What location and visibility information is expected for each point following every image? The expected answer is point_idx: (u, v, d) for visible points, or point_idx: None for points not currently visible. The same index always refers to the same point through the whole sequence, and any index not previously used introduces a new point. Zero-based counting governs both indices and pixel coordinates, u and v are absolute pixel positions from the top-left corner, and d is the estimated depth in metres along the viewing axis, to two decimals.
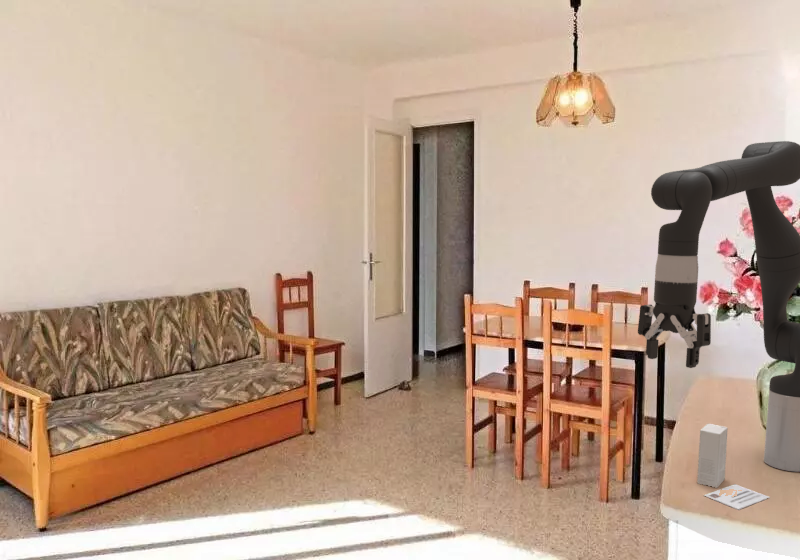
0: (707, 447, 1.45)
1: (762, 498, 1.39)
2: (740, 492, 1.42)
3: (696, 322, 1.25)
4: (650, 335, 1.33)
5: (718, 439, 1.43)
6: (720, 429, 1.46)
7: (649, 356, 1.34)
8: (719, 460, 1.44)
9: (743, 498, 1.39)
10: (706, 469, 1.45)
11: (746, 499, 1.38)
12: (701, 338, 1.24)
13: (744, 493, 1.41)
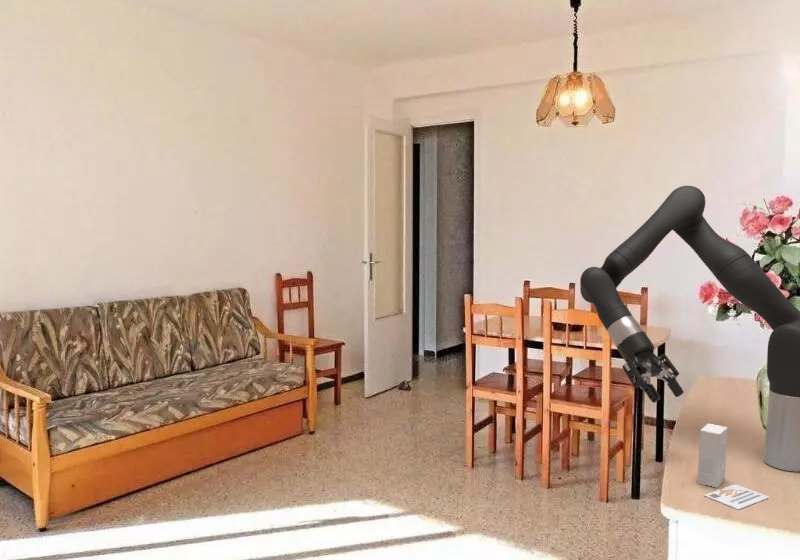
0: (707, 447, 1.45)
1: (762, 498, 1.39)
2: (740, 492, 1.42)
3: (665, 359, 1.62)
4: (649, 379, 1.55)
5: (718, 439, 1.43)
6: (720, 429, 1.46)
7: (659, 396, 1.53)
8: (719, 460, 1.44)
9: (743, 498, 1.39)
10: (706, 469, 1.45)
11: (746, 499, 1.38)
12: (675, 369, 1.61)
13: (744, 493, 1.41)
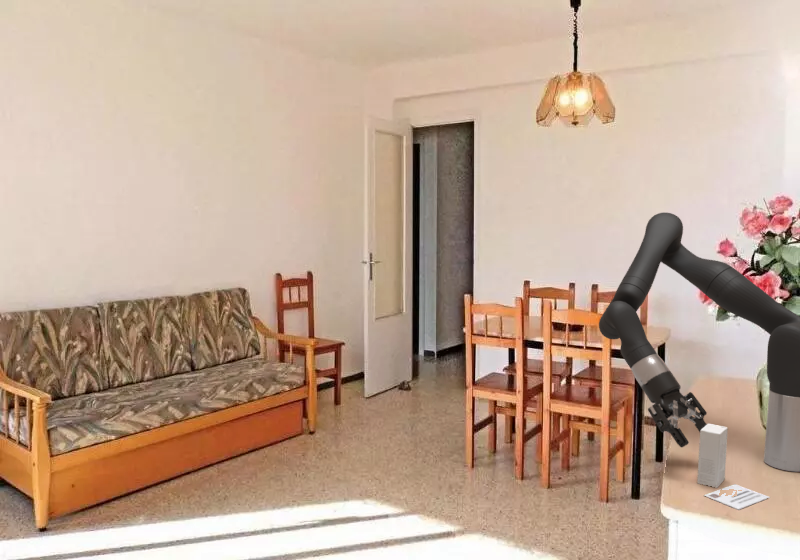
0: (707, 447, 1.45)
1: (762, 498, 1.39)
2: (740, 492, 1.42)
3: (692, 398, 1.57)
4: (676, 423, 1.50)
5: (718, 439, 1.43)
6: (720, 429, 1.46)
7: (687, 441, 1.48)
8: (719, 460, 1.44)
9: (743, 498, 1.39)
10: (706, 469, 1.45)
11: (746, 499, 1.38)
12: (702, 408, 1.56)
13: (744, 493, 1.41)
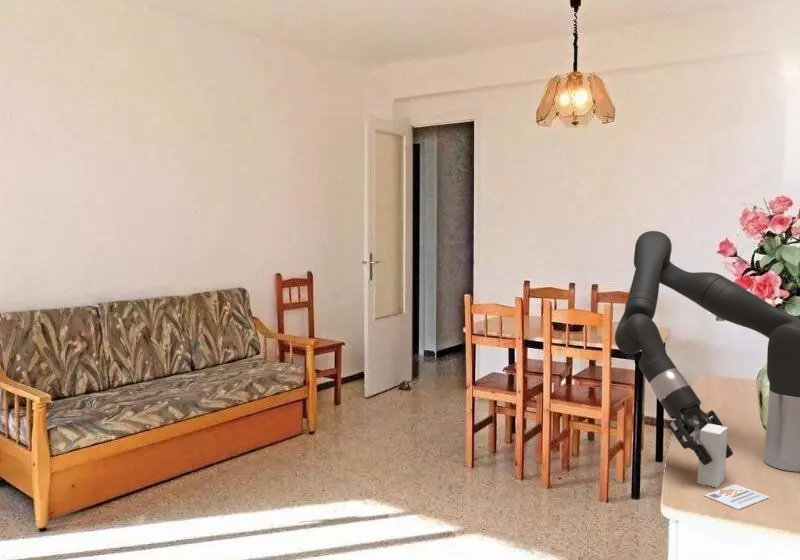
0: (707, 446, 1.45)
1: (762, 498, 1.39)
2: (740, 492, 1.42)
3: (713, 416, 1.52)
4: (699, 440, 1.45)
5: (718, 439, 1.43)
6: (721, 429, 1.46)
7: (711, 458, 1.43)
8: (719, 460, 1.44)
9: (743, 498, 1.39)
10: (706, 469, 1.45)
11: (746, 499, 1.38)
12: None
13: (744, 493, 1.41)
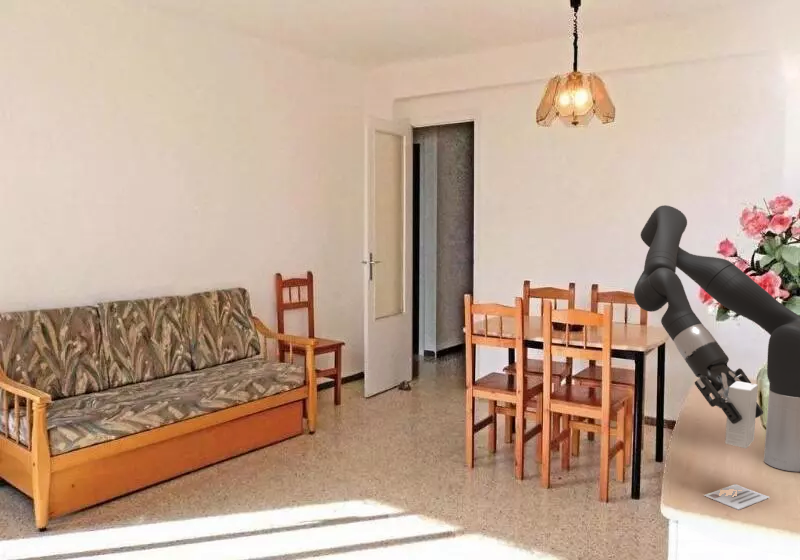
0: (736, 404, 1.36)
1: (762, 498, 1.39)
2: (740, 492, 1.42)
3: (741, 374, 1.44)
4: None
5: (748, 396, 1.34)
6: (750, 386, 1.37)
7: (740, 416, 1.35)
8: (749, 418, 1.35)
9: (743, 498, 1.39)
10: (735, 428, 1.37)
11: (746, 499, 1.38)
12: None
13: (744, 493, 1.41)
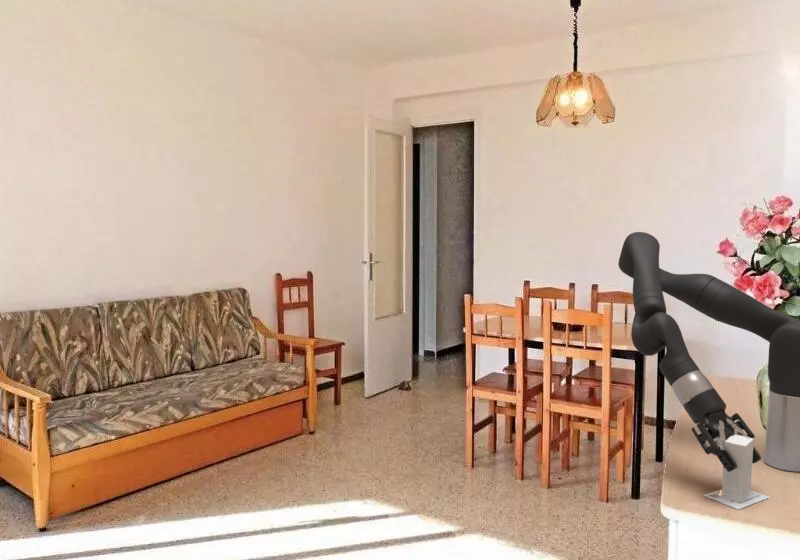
0: None
1: (762, 498, 1.39)
2: None
3: (738, 420, 1.45)
4: (723, 445, 1.38)
5: (744, 451, 1.35)
6: (746, 441, 1.38)
7: (735, 464, 1.35)
8: (745, 473, 1.36)
9: None
10: (731, 482, 1.38)
11: (746, 499, 1.38)
12: (749, 430, 1.44)
13: None
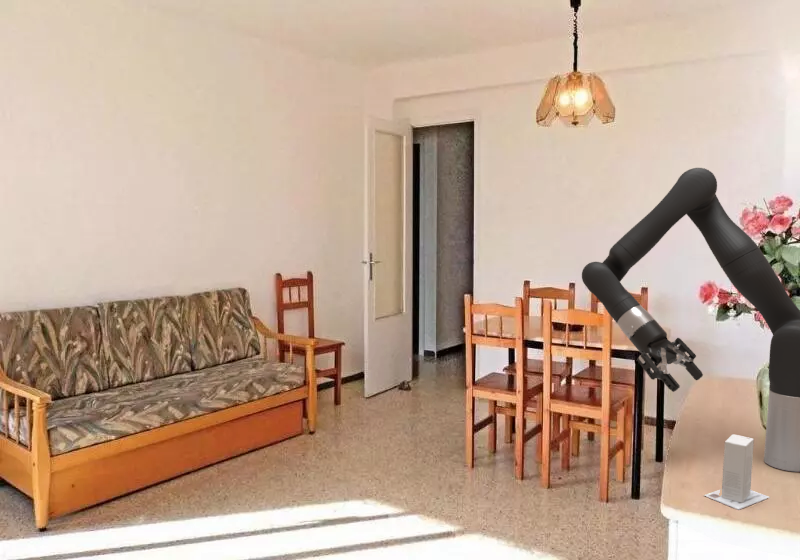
0: (732, 459, 1.37)
1: (762, 498, 1.39)
2: None
3: (680, 343, 1.61)
4: (665, 369, 1.54)
5: (744, 451, 1.35)
6: (746, 441, 1.38)
7: (678, 384, 1.52)
8: (745, 473, 1.36)
9: None
10: (731, 482, 1.38)
11: (746, 499, 1.38)
12: (691, 351, 1.60)
13: None
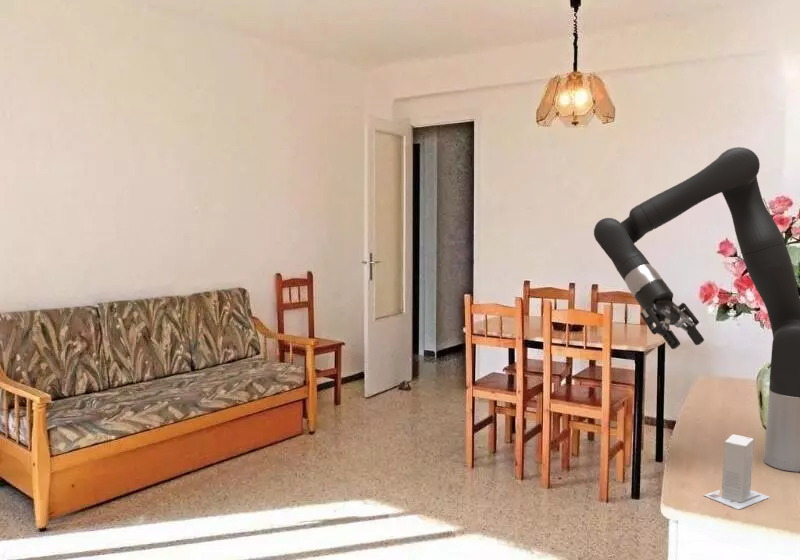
0: (732, 459, 1.37)
1: (762, 498, 1.39)
2: None
3: (684, 308, 1.58)
4: (668, 326, 1.51)
5: (744, 451, 1.35)
6: (746, 441, 1.38)
7: (678, 342, 1.49)
8: (745, 473, 1.36)
9: None
10: (731, 482, 1.38)
11: (746, 499, 1.38)
12: (695, 317, 1.57)
13: None
